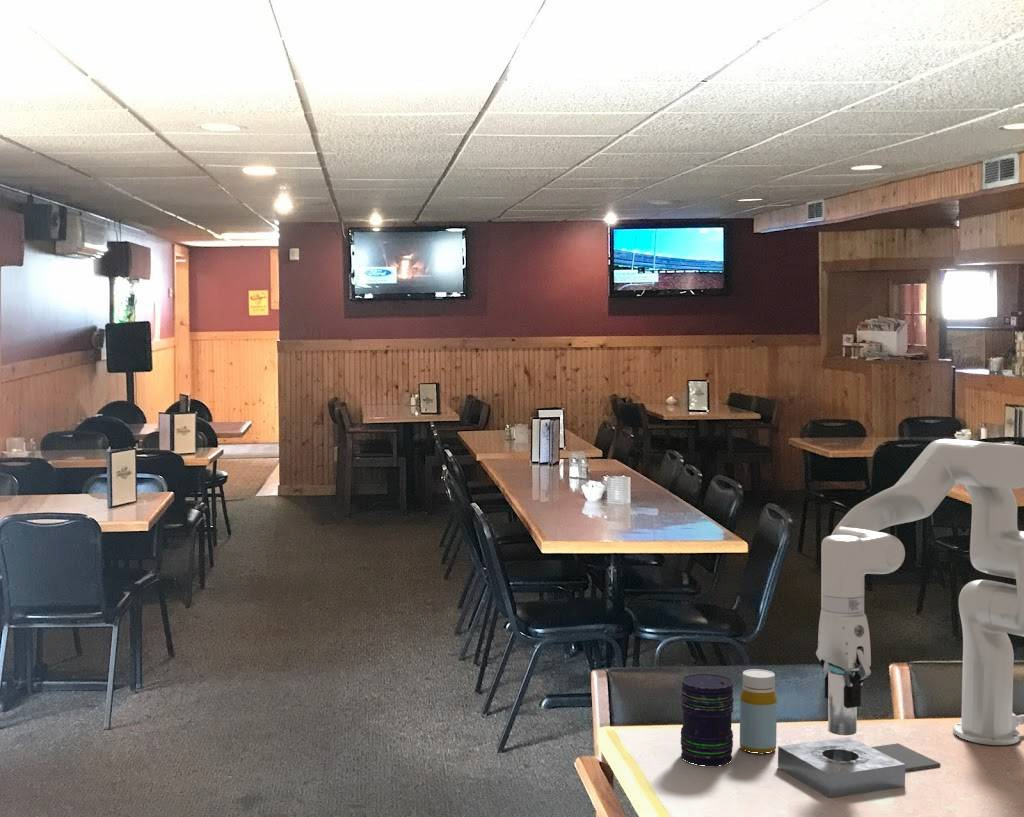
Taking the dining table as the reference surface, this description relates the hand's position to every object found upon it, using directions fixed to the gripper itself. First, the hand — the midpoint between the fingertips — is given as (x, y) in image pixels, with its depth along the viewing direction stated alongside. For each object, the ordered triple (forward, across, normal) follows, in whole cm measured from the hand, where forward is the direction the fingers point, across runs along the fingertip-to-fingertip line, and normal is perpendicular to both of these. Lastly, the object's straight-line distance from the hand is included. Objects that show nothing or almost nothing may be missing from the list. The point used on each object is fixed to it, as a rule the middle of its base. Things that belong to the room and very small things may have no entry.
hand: (842, 701), depth 213 cm
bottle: (+14, +18, +7) cm, 24 cm away
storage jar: (+14, +17, +19) cm, 29 cm away
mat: (+14, +4, -14) cm, 21 cm away
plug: (+6, 0, 0) cm, 6 cm away
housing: (+14, 0, +1) cm, 14 cm away
